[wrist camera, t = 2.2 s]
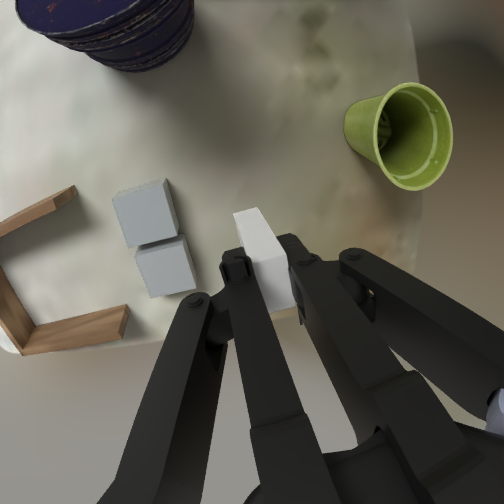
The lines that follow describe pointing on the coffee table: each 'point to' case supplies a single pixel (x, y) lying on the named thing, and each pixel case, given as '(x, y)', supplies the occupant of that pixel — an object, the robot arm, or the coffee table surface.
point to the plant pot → (403, 134)
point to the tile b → (166, 266)
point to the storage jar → (114, 28)
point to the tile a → (146, 213)
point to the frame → (60, 332)
